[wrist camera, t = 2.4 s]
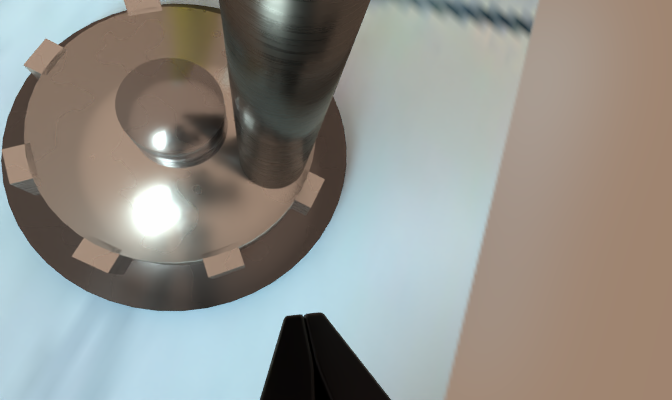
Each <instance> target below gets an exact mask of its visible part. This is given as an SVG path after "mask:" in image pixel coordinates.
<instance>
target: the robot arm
mask: <svg viewBox="0 0 672 400" xmlns="http://www.w3.org/2000/svg"><path fill="white" fill-rule="evenodd" d="M260 400H391V399H390V398H389V397H388V395H387V394H386V393H385V391H384V390H383V389H382V388H381V386H380V385H379V384H378V383H377V381H376V380H375V379H374V377H373V376H372V375H371V374H370V372H369V371H368V370H367V369H366V367H365V366H364V365H363V363H362V362H361V361H360V360H359V358H358V357H357V356H356V354H355V353H354V352H353V351H352V349H351V348H350V347H349V346H348V344H347V343H346V342H345V340H344V339H343V338H342V337H341V335H340V334H339V333H338V332H337V330H336V329H335V328H334V326H333V325H332V324H331V323H330V321H329V320H328V319H327V317H326V316H325V315H324V314H323V313H310V314H306V315H304V317H303V315H291V316H286V317H285V318H284V320H283V324H282V327H281V331H280V334H279V337H278V341H277V344H276V347H275V351H274V354H273V357H272V361H271V364H270V368H269V371H268V374H267V378H266V381H265V384H264V388H263V391H262V395H261V398H260Z"/></svg>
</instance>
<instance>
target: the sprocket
mask: <svg viewBox="0 0 672 400" xmlns="http://www.w3.org/2000/svg"><path fill="white" fill-rule="evenodd" d="M124 2H125V5H126V9H127V13H124V14H120V15H117V16H114V17H112V18H109V19H107V20H105V21H102V22H100V23H98V24H96V25H94V26H92V27H91V28H89V29H87V30H85V31H84V32H82V33H81V34H79V35H78V36H77V37H75V38H74V39H73V40H71V41H70V42H69V43H68V44H67V45H66V46H65V47H64V48H63V47H61V46H59V45H57V44H56V43H54V42H52V41H50V40H48V39H45V40H44V41H43V43H42V44H41V45H40V46H39V47H38V48H37V50H36V51H35V52H34V53H33V54H32V56H31V57H30V58H29V59H28V60H27V61H26V63H25V64H24V66H25V67H26V68H27V69H28V70H29V71H30V72H31V73H32V74H33V75H34V76H35V77H36V78H37V79H38V81H37V83H36V85H35V87H34V90H33V92H32V95H31V98H30V100H29V103H28V108H27V112H26V117H25V127H24V143H25V144H23V145H19V146H14V147H10V148H5V149H2V153H3V158H4V162H5V166H6V170H7V175H8V179H9V183H10V184H11V185H13V186H15V187H17V188H20V189H22V190H24V191H27V192H29V193H31V194H33V195H40V194H41V195H42V197H43V198H44V200H45V201H46V203H47V204H48V206H49V207H50V208H51V209H52V211H53V212H54V213H55V214H56V215H57V216H58V217H59V218H60V219H61V220H62V221H63V222H64V223H65V224H66V225H67V226H69V227H70V228H71V229H72V230H73V231H75V232H76V233H77V234H79V235H80V236H82V237H83V238H84V239H83V240H82V242H81V243H80V245H79V246H78V248H77V249H76V251H75V252H74V253H73V255H72V257H74V258H76V259H78V260H80V261H82V262H85V263H87V264H89V265H91V266H93V267H95V268H98V269H100V270H102V271H104V272H106V273H110V274H118V275H124V274H125V272H126V270H127V269H128V267H129V265H130V264H131V262H132V261H133V259H137V260H141V261H145V262H150V263H156V264H163V265H191V264H202V263H204V265H205V268H206V271H207V275H208V278H212V279H215V278H217V277H220V276H223V275H226V274H229V273H232V272H235V271H237V270H240V269H243V268H245V265H244V261H243V258H242V255H241V252H240V251H242V250H244V249H246V248H248V247H250V246H251V245H253V244H254V243H256V242H257V241H259V240H260V239H262V238H263V237H265V236H266V235H267V234H268V233H269V232H270V231H272V230H273V229H274V228H275V227H276V226H277V225H278V224H279V223H280V222H281V221H282V219H283V218H284V217H285V216H286V215H287V214H288V212H289V211H290V209H293V210H295V211H297V212H299V213H301V214H303V215H305V216H306V214H307V213H308V211H309V210H310V208H311V206H312V204H313V202H314V200H315V198H316V196H317V194H318V192H319V190H320V188H321V186H322V184H323V182H324V180H325V179H323V178H321V177H319V176H317V175H315V174H313V173H311V172H309V170H310V167H311V164H312V161H313V155H314V149H315V140H316V138H317V135H318V133H319V130H320V128H321V125H322V123H323V120H324V117H325V115H326V112H327V110H328V107H329V105H330V102H331V100H332V97H333V95H334V92H335V89H336V87H337V84H338V82H339V79H340V77H341V74H342V72H343V69H344V66H345V64H346V61H347V59H348V56H349V54H350V51H351V49H352V46H353V43H354V41H355V38H356V36H357V33H358V31H359V28H360V26H361V23H362V21H363V18H364V15H365V13H366V10H367V8H368V5H369V3H370V0H219V4H220V11H221V14H218V13H214V12H210V11H206V10H201V9H195V8H188V7H162V6H161V3H160V0H124Z"/></svg>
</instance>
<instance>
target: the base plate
mask: <svg viewBox="0 0 672 400" xmlns="http://www.w3.org/2000/svg"><path fill="white" fill-rule="evenodd" d="M161 6H162V7H188V8H195V9H201V10H206V11H210V12H214V13H218V14H221V11H220V9H218V8H214V7H207V6H200V5H191V4H163V5H161ZM124 13H127V10H126V11H123V12H120V13H116V14H113V15H110V16H108V17H105V18H103V19H101V20H98V21H96V22H94V23H91V24H90V25H88V26H86V27H84V28H83V29H81V30H79V31H77V32H76V33H74V34H72V35H71V36H70V37H68V38H67V39H66V40H64V41H63V42H62V43H60V44H59V46H61V47H63V48H64V47H65V46H66V45H67V44H68V43H69V42H70V41H71V40H73V39H74V38H75V37H77V36H78V35H79V34H81V33H82V32H84V31H85V30H87V29H89V28H91V27H92V26H94V25H96V24H98V23H100V22H102V21H105V20H107V19H109V18H112V17H114V16H117V15H120V14H124ZM37 81H38V79H37V78H36V77H35V76H34V75H33V74H32V73H31V74H30V75H29V77H28V78H27V79H26V81H25V83H24V85H23V86H22V88H21V90H20V91H19V93H18V95H17V97H16V99H15V101H14V104H13V106H12V109H11V111H10V114H9V116H8V119H7V124H6V128H5V132H4V136H3V145H2V149H5V148H10V147H14V146H19V145H23V144H25V143H24V127H25V117H26V112H27V108H28V103H29V100H30V98H31V95H32V92H33V90H34V87H35V85H36V83H37ZM1 162H2V173H3V183H4V187H5V191H6V195H7V199H8V203H9V206H10V208H11V210H12V212H13V215H14V217H15V219H16V222H17V224H18V226H19V227H20V229H21V231H22V232H23V234H24V235H25V237H26V238H27V240H28V241H29V243H30V244H31V246H32V247H33V248H34V249H35V250H36V251H37V252H38V254H39V255H40V256H41V257H42V258H43V259H44V260H45V261H46V263H48V264H49V265H50V266H51V267H52V268H54V269H55V270H56V271H57V272H59V273H60V274H61V275H62V276H63V277H65V278H66V279H68V280H69V281H71V282H73V283H74V284H76V285H77V286H79V287H81V288H82V289H84V290H86V291H88V292H90V293H92V294H95V295H97V296H99V297H102V298H104V299H107V300H109V301H112V302H116V303H120V304H123V305H127V306H130V307H135V308H142V309H150V310H157V311H186V310H194V309H202V308H209V307H213V306H217V305H220V304H224V303H228V302H232V301H234V300H237V299H239V298H242V297H244V296H247V295H250V294H252V293H254V292H256V291H258V290H260V289H261V288H263V287H265V286H267V285H269V284H271V283H272V282H274V281H275V280H277V279H278V278H279V277H281V276H282V275H283V274H285V273H286V272H288V271H289V270H290V269H291V268H293V267H294V266H295V265H296V264H297V263H298V262H299V261H300V260H301V259H302V258H303V257H304V256H305V255H306V254H307V253H308V252H309V251H310V249H311V248H312V247H313V246H314V244H315V243H316V242H317V241H318V239H319V238H320V237H321V235H322V233H323V232H324V230H325V228H326V227H327V225H328V224H329V222H330V220H331V218H332V216H333V213H334V211H335V209H336V206H337V204H338V201H339V198H340V194H341V191H342V187H343V183H344V177H345V170H346V142H345V134H344V128H343V124H342V120H341V116H340V113H339V110H338V107H337V105H336V102H335V100H334V98H333V97H332V100H331V102H330V105H329V107H328V110H327V112H326V115H325V117H324V120H323V123H322V125H321V128H320V130H319V133H318V135H317V138H316V140H315V149H314V155H313V161H312V164H311V167H310V170H309V172H311V173H313V174H315V175H317V176H319V177H321V178H323V179H325V180H324V182H323V184H322V186H321V188H320V190H319V192H318V194H317V196H316V198H315V200H314V202H313V204H312V206H311V208H310V210H309V211H308V213H307V214H306V216H305V215H303V214H301V213H299V212H297V211H295V210H293V209H290V211H289V212H288V214H287V215H286V216H285V217H284V218H283V219H282V221H281V222H280V223H279V224H278V225H277V226H276V227H275V228H274V229H273V230H272V231H270V232H269V233H268V234H267V235H266V236H265V237H263V238H262V239H260V240H259V241H257V242H256V243H254V244H253V245H251V246H250V247H248V248H246V249H244V250H242V251H240V252H241V255H242V258H243V261H244V265H245V268H243V269H240V270H237V271H235V272H232V273H229V274H226V275H223V276H220V277H217V278H215V279H212V278H208V275H207V271H206V268H205V265H204V263H202V264H191V265H163V264H156V263H150V262H145V261H141V260H137V259H133V261H132V262H131V264H130V265H129V267H128V269H127V270H126V272H125V274H124V275H118V274H110V273H106V272H104V271H102V270H100V269H98V268H95V267H93V266H91V265H89V264H87V263H85V262H82V261H80V260H78V259H76V258H74V257H72V255H73V253H74V252H75V251H76V249H77V248H78V246H79V245H80V243H81V242H82V240H83V239H84V238H83V237H82V236H80V235H79V234H77V233H76V232H75V231H73V230H72V229H71V228H70V227H69V226H67V225H66V224H65V223H64V222H63V221H62V220H61V219H60V218H59V217H58V216H57V215H56V214H55V213H54V212H53V211H52V209H51V208H50V207H49V206H48V204H47V203H46V201H45V200H44V198H43V197H42V195H41V194H40V195H33V194H31V193H29V192H27V191H24V190H22V189H20V188H17V187H15V186H13V185H11V184H10V183H9V179H8V175H7V170H6V166H5V162H4V158H3V153H2V159H1Z"/></svg>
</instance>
